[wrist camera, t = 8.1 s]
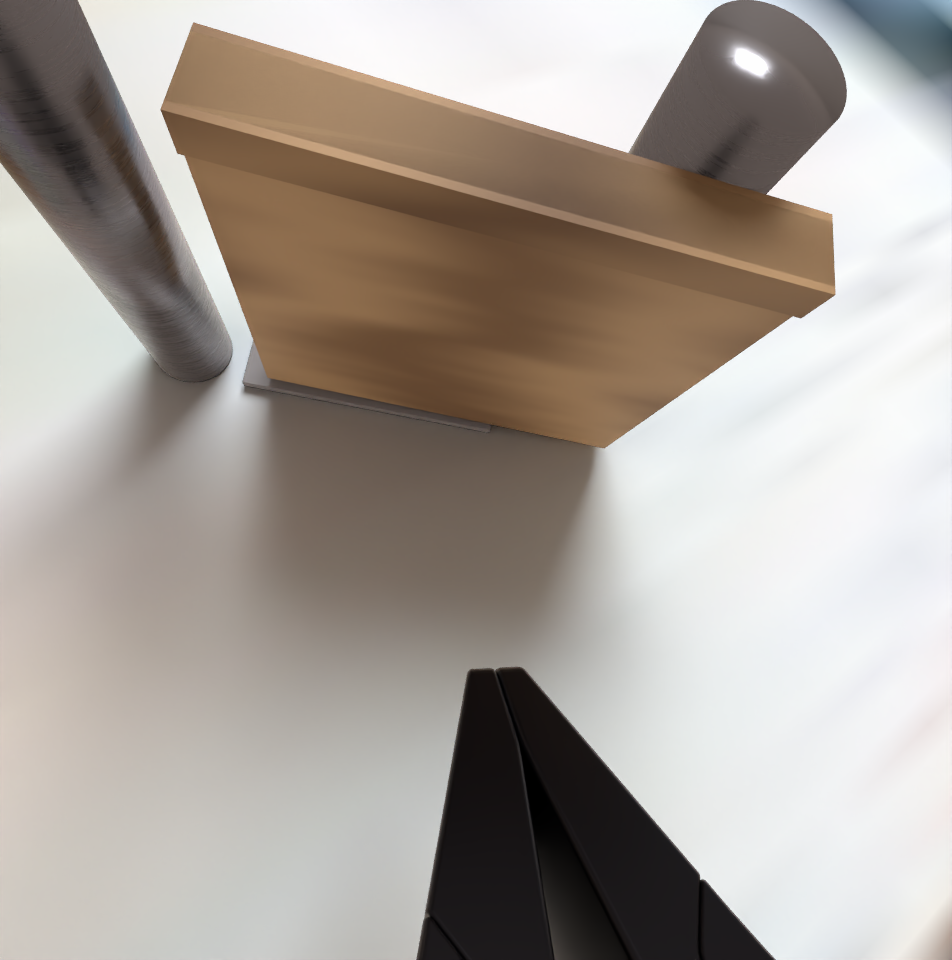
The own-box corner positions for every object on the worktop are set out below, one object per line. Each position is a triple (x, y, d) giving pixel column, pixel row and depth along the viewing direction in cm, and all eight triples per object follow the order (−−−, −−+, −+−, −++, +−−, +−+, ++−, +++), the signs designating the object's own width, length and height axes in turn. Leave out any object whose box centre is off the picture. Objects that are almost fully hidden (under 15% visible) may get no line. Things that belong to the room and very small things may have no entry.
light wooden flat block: (265, 382, 15) (160, 108, 7) (279, 334, 16) (194, 22, 7) (603, 453, 17) (835, 295, 9) (607, 406, 17) (832, 214, 9)
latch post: (599, 364, 18) (871, 76, 8) (557, 416, 17) (803, 164, 8) (541, 317, 18) (748, -25, 8) (497, 366, 17) (669, 52, 8)
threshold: (494, 384, 17) (496, 380, 17) (488, 432, 17) (490, 429, 16) (257, 334, 16) (255, 330, 16) (244, 385, 15) (242, 381, 15)
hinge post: (247, 348, 16) (80, -68, 6) (193, 396, 15) (-84, 18, 6) (193, 302, 16) (-57, -182, 6) (137, 349, 15) (-236, -109, 6)
